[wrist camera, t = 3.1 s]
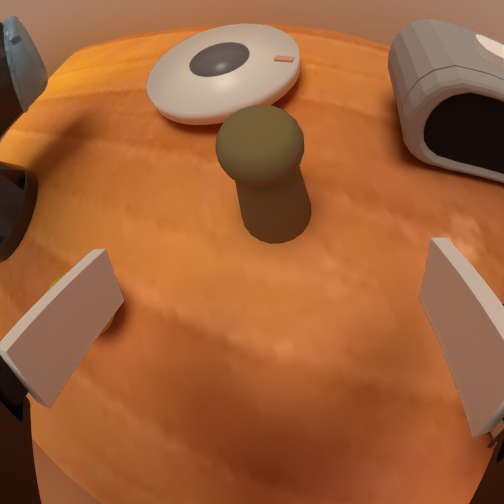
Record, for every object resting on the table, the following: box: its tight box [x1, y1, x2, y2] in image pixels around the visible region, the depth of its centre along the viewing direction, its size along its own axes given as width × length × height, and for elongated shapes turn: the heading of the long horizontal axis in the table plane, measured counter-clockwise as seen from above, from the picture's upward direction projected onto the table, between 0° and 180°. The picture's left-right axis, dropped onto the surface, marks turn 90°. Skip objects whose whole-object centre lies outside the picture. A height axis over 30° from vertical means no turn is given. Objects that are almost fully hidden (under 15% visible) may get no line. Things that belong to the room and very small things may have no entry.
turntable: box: [146, 24, 301, 125], centre depth 28 cm, size 18×18×2 cm
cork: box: [215, 104, 311, 243], centre depth 20 cm, size 6×6×11 cm
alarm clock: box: [388, 19, 504, 183], centre depth 17 cm, size 21×10×13 cm, turn 82°
